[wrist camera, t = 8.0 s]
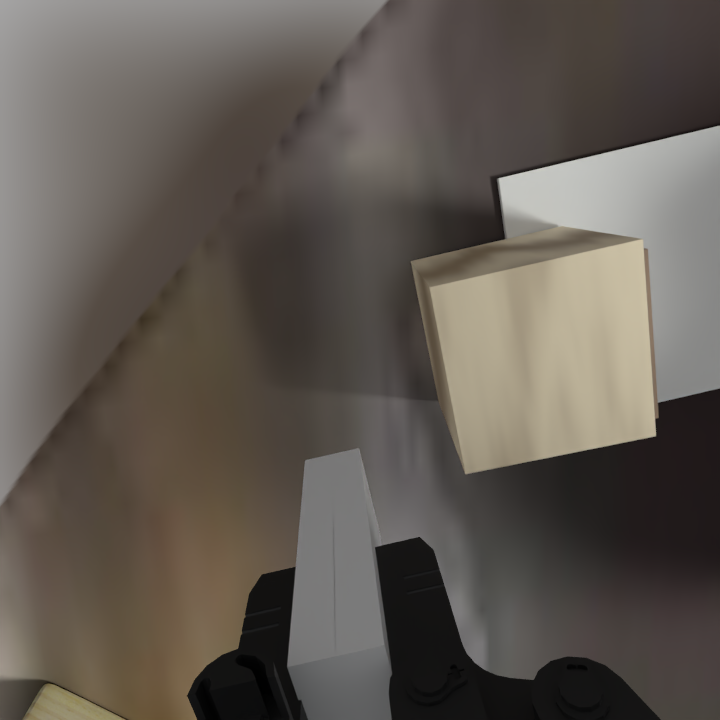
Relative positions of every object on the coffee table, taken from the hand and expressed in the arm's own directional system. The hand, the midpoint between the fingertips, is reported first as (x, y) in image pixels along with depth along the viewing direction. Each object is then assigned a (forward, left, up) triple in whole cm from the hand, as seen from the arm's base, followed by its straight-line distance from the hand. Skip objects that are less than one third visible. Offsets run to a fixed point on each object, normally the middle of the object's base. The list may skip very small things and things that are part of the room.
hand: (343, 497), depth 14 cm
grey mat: (-17, 0, -15) cm, 22 cm away
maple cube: (-5, 0, -11) cm, 12 cm away
